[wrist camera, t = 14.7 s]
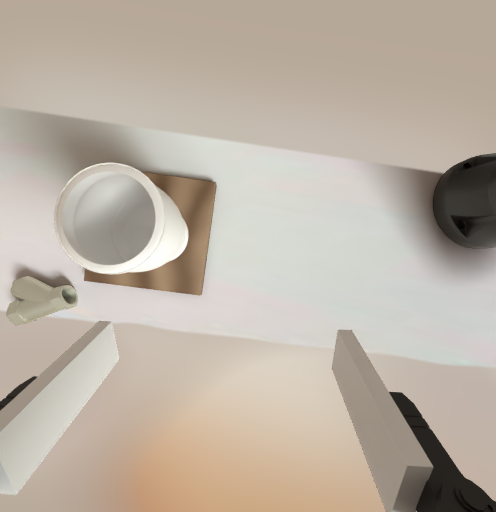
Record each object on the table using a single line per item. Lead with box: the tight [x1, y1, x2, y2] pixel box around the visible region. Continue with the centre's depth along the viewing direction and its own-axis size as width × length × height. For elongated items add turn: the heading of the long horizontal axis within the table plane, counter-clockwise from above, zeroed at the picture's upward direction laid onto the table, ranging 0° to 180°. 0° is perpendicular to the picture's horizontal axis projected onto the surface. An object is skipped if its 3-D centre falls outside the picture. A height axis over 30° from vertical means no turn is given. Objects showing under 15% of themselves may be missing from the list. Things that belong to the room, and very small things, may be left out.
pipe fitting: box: [6, 276, 78, 325], centre depth 36 cm, size 8×4×7 cm
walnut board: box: [84, 172, 217, 295], centre depth 38 cm, size 18×18×2 cm
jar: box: [54, 163, 188, 274], centre depth 30 cm, size 11×10×15 cm
